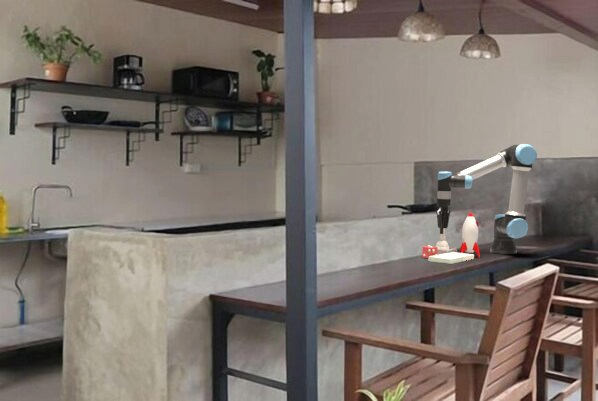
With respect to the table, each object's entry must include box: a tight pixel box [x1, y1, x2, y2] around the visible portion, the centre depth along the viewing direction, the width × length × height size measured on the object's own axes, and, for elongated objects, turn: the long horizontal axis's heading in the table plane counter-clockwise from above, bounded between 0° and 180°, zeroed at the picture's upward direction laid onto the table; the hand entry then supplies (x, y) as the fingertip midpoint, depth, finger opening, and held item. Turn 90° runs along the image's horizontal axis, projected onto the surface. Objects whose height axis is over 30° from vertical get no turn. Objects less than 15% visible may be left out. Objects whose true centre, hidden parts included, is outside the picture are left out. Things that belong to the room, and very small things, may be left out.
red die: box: [421, 245, 437, 259], centre depth 356 cm, size 7×7×7 cm
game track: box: [428, 252, 475, 265], centre depth 348 cm, size 27×13×2 cm, turn 138°
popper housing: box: [437, 247, 458, 255], centre depth 367 cm, size 12×12×4 cm
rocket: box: [459, 212, 481, 259], centre depth 364 cm, size 11×11×25 cm
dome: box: [435, 239, 450, 250], centre depth 367 cm, size 7×7×8 cm
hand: (442, 239), depth 366 cm, fingers closed
